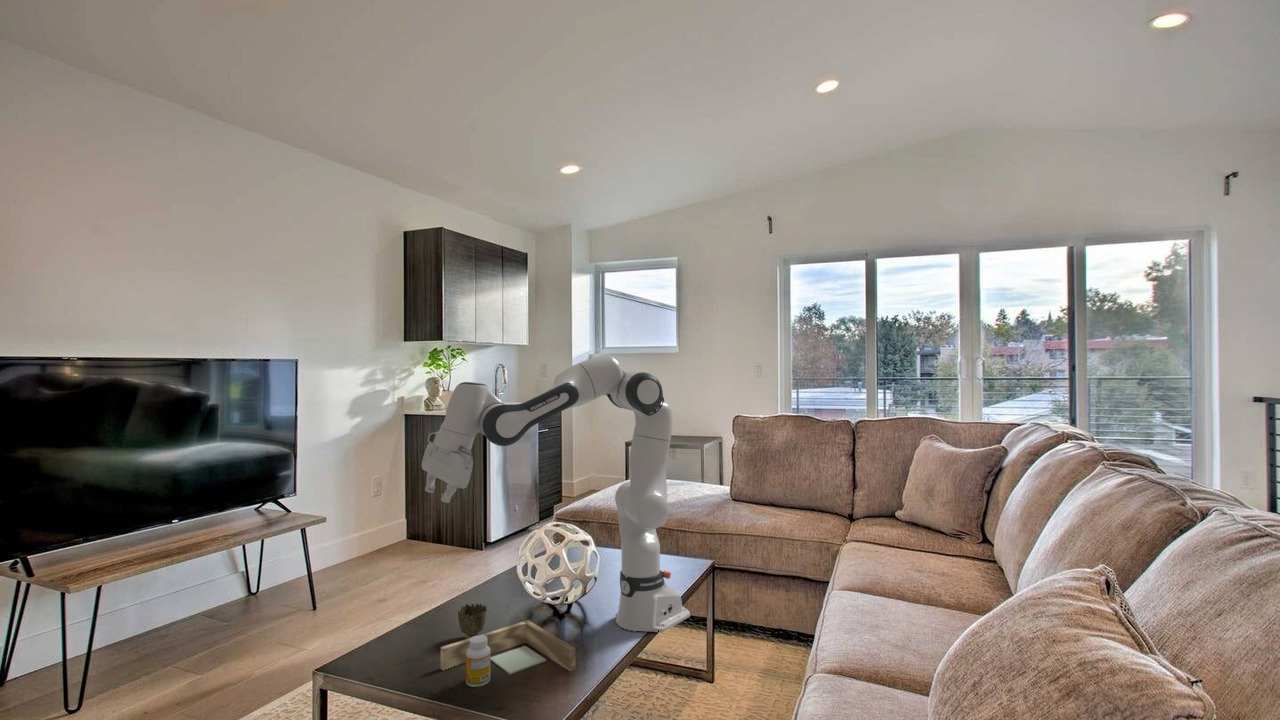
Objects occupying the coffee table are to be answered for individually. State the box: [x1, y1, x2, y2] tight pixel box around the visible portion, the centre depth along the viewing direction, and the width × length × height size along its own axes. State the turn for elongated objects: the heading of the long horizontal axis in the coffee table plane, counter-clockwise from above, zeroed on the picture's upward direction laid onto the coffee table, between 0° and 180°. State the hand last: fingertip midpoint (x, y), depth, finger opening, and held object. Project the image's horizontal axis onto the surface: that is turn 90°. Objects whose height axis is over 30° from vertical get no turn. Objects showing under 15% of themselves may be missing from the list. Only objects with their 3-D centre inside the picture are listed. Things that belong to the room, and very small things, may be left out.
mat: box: [490, 645, 547, 675], centre depth 145 cm, size 10×10×1 cm
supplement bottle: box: [465, 634, 491, 688], centre depth 135 cm, size 5×5×10 cm
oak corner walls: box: [439, 619, 576, 672], centre depth 141 cm, size 24×22×5 cm
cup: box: [457, 603, 487, 639], centre depth 158 cm, size 8×7×8 cm
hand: (436, 496), depth 146 cm, fingers open, 8 cm apart
